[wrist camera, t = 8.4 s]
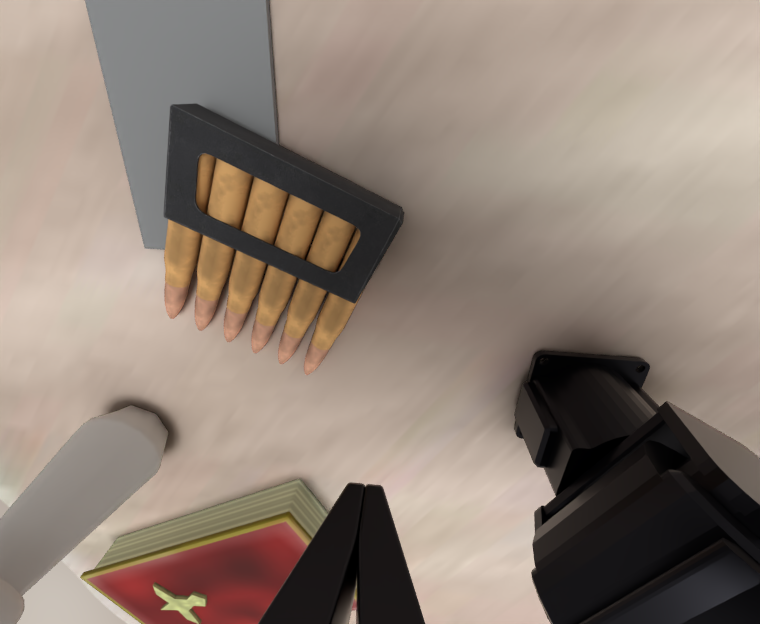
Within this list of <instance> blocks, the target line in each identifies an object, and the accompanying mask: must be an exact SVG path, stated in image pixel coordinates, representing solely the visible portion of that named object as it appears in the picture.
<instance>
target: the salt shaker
mask: <svg viewBox="0 0 760 624" xmlns="http://www.w3.org/2000/svg"><path fill="white" fill-rule="evenodd" d="M167 437H168V431H167V430H166V428H165V427H164V425H163V424H162V422H161V421H160V419H159V418H158V416H157V415H156V414H155V413H152V412H149V411H146V410H144V409H141V408H138V407H135V406H132V405H130V406H128V407H126V408H123V409H121V410H118V411H115V412H112V413H108V414H105V415H101V416H98V417H94V418H91V419H90V420H88V421H87V422H85V423H84V424H83V425H82V426H81V427H80V428H79V429H78V430H77V431H76V432H75V433H74V434H73V435H72V436H71V437H70V439H69V440H68V441H67V442H66V443H65V444H64V446H63V447H62V448H61V449H60V450H59V451H58V452H57V454H56V455H55V456H54V457H53V458H52V459H51V461H50V462H49V463H48V464H47V465H46V466H45V467H44V469H43V470H42V471H41V472H40V473H39V474H38V476H37V477H36V478H35V479H34V480H33V481H32V482H31V484H30V485H29V486H28V487H27V488H26V489H25V491H24V492H23V493H22V494H21V495H20V496H19V497H18V499H17V500H16V501H15V502H14V503H13V504H12V506H11V507H10V508H9V509H8V510H7V511H6V512H5V514H4V515H3V516H2V517H1V518H0V624H16V623H17V622H18V621H19V619H20V617H21V615H22V613H23V611H24V599H23V597H22V596H23V595H24V594H25V592H27V591H28V590H29V589H30V588H31V587H32V586H33V585H35V584H36V583H37V582H38V581H39V580H40V579H41V578H42V577H43V576H44V575H45V574H47V573H48V572H49V571H50V570H51V569H52V568H53V567H54V566H55V565H56V564H57V563H58V562H59V561H61V560H62V559H63V558H64V557H65V556H66V555H67V554H68V553H69V552H71V551H72V550H73V549H74V548H75V547H76V546H77V545H78V544H79V543H80V542H81V541H83V540H84V539H85V538H86V537H87V536H88V535H89V534H90V533H91V532H92V531H93V530H95V529H96V528H97V527H98V526H99V525H100V524H101V523H102V522H103V521H104V520H105V519H106V518H108V517H109V516H110V515H111V514H112V513H113V512H114V511H115V510H116V509H117V508H118V507H120V506H121V505H122V504H123V503H124V502H125V501H126V500H127V499H128V498H129V497H130V496H132V495H133V494H134V493H135V492H136V491H137V490H138V489H139V488H140V487H142V486H143V485H144V484H145V483H146V482H147V481H148V480H149V479H151V478H152V477H153V476H154V475H155V474H156V473H157V471H158V469H159V468H160V465H161V460H162V456H163V452H164V448H165V444H166V441H167Z"/></svg>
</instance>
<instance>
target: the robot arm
mask: <svg viewBox="0 0 760 624" xmlns="http://www.w3.org/2000/svg"><path fill="white" fill-rule="evenodd" d="M542 358H546V359H545V360H544V361H541V362H540V360H541V359H542ZM640 365H641V366H640ZM638 366H640V367H639V368H637V367H638ZM636 368H637V369H636ZM649 369H650V366H649V364H648V363H647V362H646V361H645V360H643V359H642V358H633V357H620V356H607V355H594V354H580V353H567V352H554V351H539V352H537V353H536V354H535V355H534V357H533V360H532V364H531V367H530V371H529V375H528V379H527V381H526V382H525V383H524V384H523V385H522V388H521V392H520V396H519V399H518V403H517V407H516V411H515V418H516V424H515V427H514V430H515V433H516V435H517V437H519V438H522V439H524V440H525V443H526V445H527V448H528V450H529V453H530V455H531V458H532V460H533V463H534V464H535V465H536V466H537V467H542V468H544V470H545V472H546V474H547V477H548V479H549V481H550V484H551V486H552V488H553V491H554V493H555V495H556V497H555V498H554V499H553V500H551V501H550V502H549V503H548V504H547V505H545V506H541V507H539V508H538V509H537V510H536V511H535V512H534V516H535V536H534V540H533V552H534V561H535V567H536V568H535V569H533V570H532V572H531V574H532V580H533V583H534V586H535V589H536V592H537V594H538V597H539V600H540V602H541V604H542V606H543V608H544V611H545V613H546V615H547V618H548V619H549V621H550V623H551V624H760V458H759V457H758V456H757V455H755V454H754V453H753V452H752V451H750V450H749V449H748V448H747V447H745V446H744V445H742V444H741V443H739V442H737V441H736V440H734V439H732V438H730V437H729V436H727V435H725V434H724V433H722V432H720V431H718V430H717V429H715V428H713V427H711V426H710V425H708V424H706V423H704V422H703V421H701V420H699V419H697V418H696V417H694V416H692V415H690V414H689V413H687V412H685V411H684V410H682V409H680V408H678V407H677V406H675V405H673V404H671V403H670V402H668V401H666V402H665V403H664V404H663V405H661V406H660V407H659V406H658V405H657V404H656V403H655V402H654V401H653V400H652V399H651V398H650V397H649V396H648V395H647V394H646V393H645V391H644V390H643V389H642V385H643V383H644V381H645V379H646V376H647V374H648V372H649ZM356 584H357V599H356V624H425V622H424V618H423V615H422V612H421V609H420V605H419V602H418V599H417V596H416V592H415V589H414V586H413V583H412V579H411V576H410V573H409V570H408V567H407V563H406V560H405V557H404V554H403V550H402V547H401V544H400V541H399V537H398V534H397V531H396V528H395V524H394V521H393V518H392V515H391V512H390V508H389V505H388V502H387V499H386V495H385V492H384V489H383V487H382V486H381V485H372V484H368V485H366V486H365V485H364V484H362V483H348V484H347V486H346V487H345V489H344V490H343V492H342V493H341V495H340V496H339V498H338V499H337V501H336V503H335V504H334V506H333V507H332V509H331V510H330V512H329V513H328V515H327V517H326V518H325V520H324V521H323V523H322V524H321V526H320V527H319V529H318V531H317V532H316V534H315V535H314V537H313V538H312V540H311V541H310V543H309V545H308V546H307V548H306V549H305V551H304V552H303V554H302V556H301V557H300V559H299V560H298V562H297V563H296V565H295V566H294V568H293V570H292V571H291V573H290V574H289V576H288V577H287V579H286V580H285V582H284V584H283V585H282V587H281V588H280V590H279V591H278V593H277V594H276V596H275V598H274V599H273V601H272V602H271V604H270V605H269V607H268V608H267V610H266V612H265V613H264V615H263V616H262V618H261V619H260V621H259V622H258V624H349V620H350V615H351V611H352V606H353V601H354V596H355V590H356Z"/></svg>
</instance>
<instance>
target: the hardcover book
mask: <svg viewBox="0 0 760 624" xmlns="http://www.w3.org/2000/svg"><path fill="white" fill-rule="evenodd" d="M327 515H328V512H327V511H326V510H325V509H324V507H323V506H322V505H321V504H320V502H319V501H318V500H317V499H316V497H315V496H314V495H313V494H312V493H311V491H310V490H309V489H308V488H307V486H306V485H305V484H304V483H303V481H302V480H301V479H297V480H294V481H291V482H288V483H285V484H281V485H278V486H275V487H272V488H269V489H266V490H263V491H260V492H257V493H254V494H250V495H247V496H244V497H241V498H238V499H235V500H232V501H229V502H226V503H223V504H220V505H216V506H213V507H210V508H207V509H204V510H201V511H198V512H195V513H192V514H189V515H185V516H182V517H179V518H176V519H173V520H170V521H167V522H164V523H161V524H158V525H155V526H151V527H148V528H145V529H142V530H139V531H136V532H133V533H130V534H127V535H124V536H121V537H118V538H117V539H116V541H115V542H114V543H113V545H112V546H111V547H110V549H109V550H108V551H107V553H106V554H105V555H104V557H103V558H102V559H101V561H100V562H99V563H98V565H97V566H96V567H95V569H93V570H90V571H86V572H84V573H83V574H82V575H81V577H80V578H81V579H83V580H84V581H85V582H87V583H88V584H89V585H91V586H92V587H93V588H95V589H96V590H97V591H99V592H100V593H101V594H103V595H104V596H105V597H107V598H108V599H109V600H111V601H112V602H113V603H115V604H116V605H117V606H119V607H120V608H121V609H123V610H124V611H125V612H127V613H128V614H129V615H131V616H132V617H133V618H135V619H136V620H137V621H139V622H140V623H141V624H258V622H259V621H260V619H261V618H262V616H263V615H264V613H265V612H266V610H267V608H268V607H269V605H270V604H271V602H272V601H273V599H274V598H275V596H276V594H277V593H278V591H279V590H280V588H281V587H282V585H283V584H284V582H285V580H286V579H287V577H288V576H289V574H290V573H291V571H292V570H293V568H294V566H295V565H296V563H297V562H298V560H299V559H300V557H301V556H302V554H303V552H304V551H305V549H306V548H307V546H308V545H309V543H310V541H311V540H312V538H313V537H314V535H315V534H316V532H317V531H318V529H319V527H320V526H321V524H322V523H323V521H324V520H325V518H326V517H327ZM356 599H357V584H356V590H355V596H354V601H353V606H352V610H356Z"/></svg>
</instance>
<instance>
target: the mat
mask: <svg viewBox="0 0 760 624" xmlns="http://www.w3.org/2000/svg"><path fill="white" fill-rule="evenodd" d="M85 3H86V7H87V11H88V15H89V19H90V23H91V27H92V32H93V36H94V40H95V44H96V48H97V52H98V57H99V61H100V65H101V69H102V73H103V77H104V81H105V86H106V90H107V94H108V98H109V102H110V106H111V110H112V115H113V119H114V123H115V127H116V131H117V135H118V139H119V144H120V148H121V152H122V156H123V160H124V164H125V169H126V173H127V177H128V181H129V185H130V189H131V193H132V198H133V202H134V206H135V210H136V214H137V218H138V222H139V227H140V231H141V235H142V239H143V243H144V247H145V248H147V249H163V250H165V244H166V236H167V227H168V219H167V218H165V217H164V216H163V214H164V198H165V182H166V166H167V149H168V133H169V117H170V106H171V105H173V104H195V103H197V104H199V105H201V106H203V107H205V108H207V109H209V110H211V111H212V112H214V113H216V114H218V115H220V116H222V117H224V118H226V119H228V120H230V121H232V122H234V123H236V124H238V125H240V126H242V127H244V128H246V129H248V130H250V131H252V132H254V133H256V134H258V135H260V136H262V137H264V138H266V139H268V140H270V141H272V142H274V143H276V144H278V145H279V139H278V125H277V110H276V96H275V81H274V67H273V53H272V38H271V24H270V9H269V0H85ZM249 196H250V195H249ZM248 201H249V199H248ZM247 205H248V203H247ZM246 209H247V207H246ZM245 213H246V211H245ZM283 215H284V213H283ZM282 218H283V216H282ZM281 222H282V219H281ZM281 222H280V225H281ZM280 225H279V228H280ZM278 230H279V229H278ZM235 254H236V250H235Z"/></svg>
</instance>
